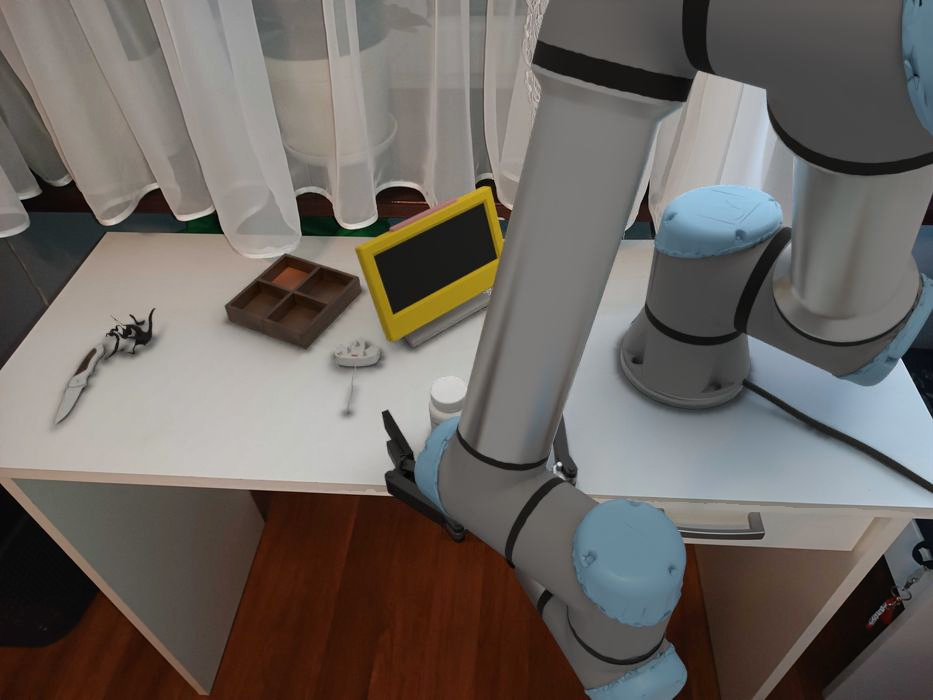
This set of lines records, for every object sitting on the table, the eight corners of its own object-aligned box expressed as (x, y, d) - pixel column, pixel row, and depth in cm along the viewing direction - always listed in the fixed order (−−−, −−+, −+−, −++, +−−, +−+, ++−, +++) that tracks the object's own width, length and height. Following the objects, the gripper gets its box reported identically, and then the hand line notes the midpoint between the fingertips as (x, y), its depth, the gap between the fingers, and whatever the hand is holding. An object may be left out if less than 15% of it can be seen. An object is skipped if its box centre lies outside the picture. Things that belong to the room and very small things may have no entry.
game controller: (377, 340, 93) (374, 326, 91) (394, 404, 85) (392, 389, 83) (334, 349, 92) (330, 335, 90) (347, 414, 84) (344, 400, 82)
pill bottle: (465, 417, 83) (462, 367, 77) (480, 447, 80) (478, 397, 74) (427, 430, 82) (420, 380, 76) (440, 460, 79) (435, 411, 73)
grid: (361, 291, 100) (359, 276, 99) (305, 349, 92) (301, 334, 90) (288, 267, 105) (284, 252, 103) (229, 320, 97) (224, 305, 95)
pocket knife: (109, 348, 94) (94, 347, 94) (107, 343, 94) (92, 342, 94) (64, 426, 84) (48, 426, 84) (62, 422, 84) (45, 421, 84)
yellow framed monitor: (395, 362, 90) (379, 263, 79) (361, 331, 94) (342, 233, 83) (512, 295, 99) (512, 197, 88) (476, 269, 103) (472, 173, 92)
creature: (95, 364, 93) (138, 367, 90) (71, 334, 90) (115, 336, 87) (133, 326, 99) (175, 327, 95) (111, 296, 95) (154, 296, 92)
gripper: (425, 630, 63) (342, 461, 76) (651, 512, 70) (538, 377, 84) (418, 590, 57) (330, 416, 71) (663, 467, 65) (541, 331, 79)
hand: (442, 395), depth 78 cm, fingers open, 13 cm apart
